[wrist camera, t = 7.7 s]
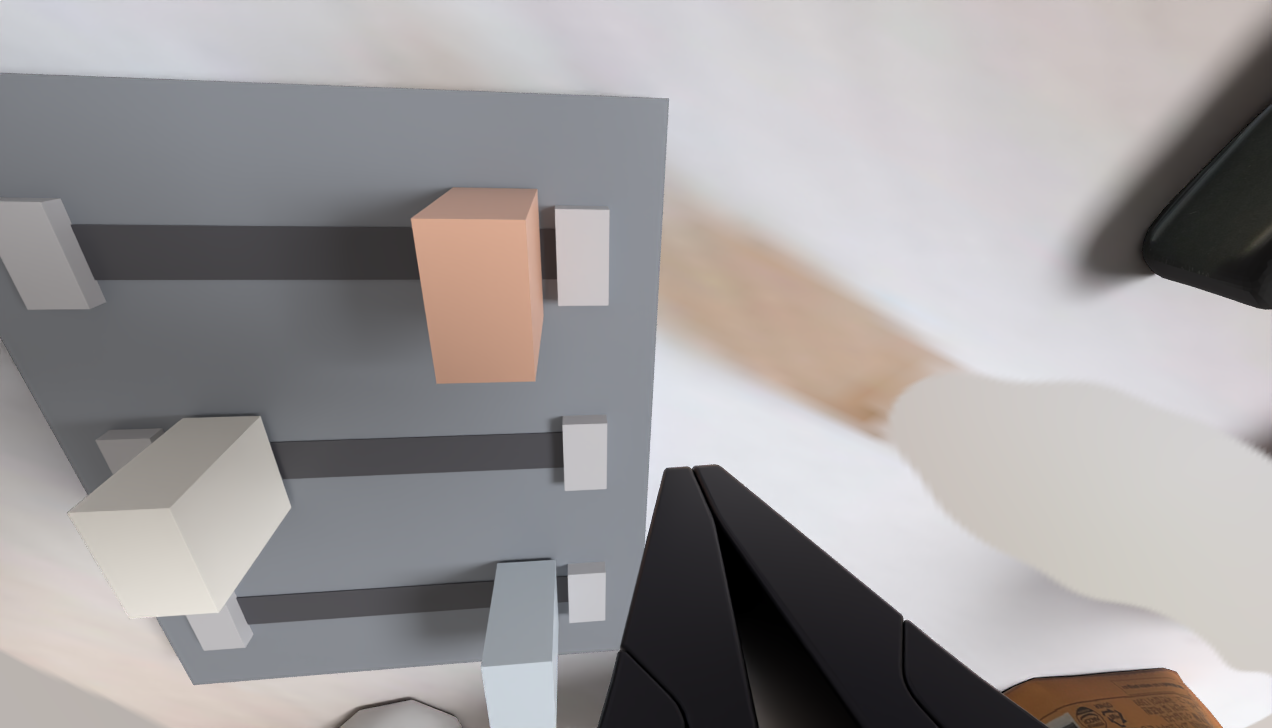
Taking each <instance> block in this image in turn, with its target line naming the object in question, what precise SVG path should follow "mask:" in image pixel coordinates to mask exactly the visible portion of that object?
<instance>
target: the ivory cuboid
mask: <svg viewBox="0 0 1272 728" xmlns="http://www.w3.org/2000/svg"><path fill="white" fill-rule="evenodd" d="M290 509H291V505H290V502H289V499H288V496H287V493H286V490H285V487H284V484H283V481H282V478H281V475H280V472H279V469H278V466H277V463H276V460H275V458H274V455H273V452H272V449H271V446H270V443H269V440H268V437H267V434H266V431H265V428H264V425H263V422H262V419H261V416H237V417H202V418H182V419H181V420H180V421H179V422H177V423H176V424H175V425H174V426H172V427H171V428H170V429H169V430H167V431H166V432H165V433H164V434H163V435H161V436H160V437H159V438H158V439H156V440H155V441H154V442H153V443H152V444H150V445H149V446H148V447H147V448H145V449H144V450H143V451H142V452H141V453H139V454H138V455H137V456H136V457H134V458H133V459H132V460H131V461H130V462H128V463H127V464H126V465H125V466H123V467H122V468H121V469H120V470H119V471H117V472H116V473H115V474H114V475H112V476H111V477H110V478H109V479H108V480H106V481H105V482H104V483H103V484H101V485H100V486H99V487H98V488H97V489H95V490H94V491H93V492H92V493H90V494H89V495H88V496H87V497H86V498H84V499H83V500H82V501H81V502H79V503H78V504H77V505H76V506H75V507H73V508H72V509H71V510H70V511H68V512H67V514H68V516H69V518H70V519H71V521H72V523H73V524H74V526H75V528H76V530H77V531H78V533H79V535H80V536H81V538H82V540H83V541H84V543H85V545H86V547H87V548H88V550H89V552H90V553H91V555H92V557H93V558H94V560H95V562H96V563H97V565H98V567H99V569H100V570H101V572H102V574H103V575H104V577H105V579H106V580H107V582H108V584H109V585H110V587H111V589H112V591H113V592H114V594H115V596H116V597H117V599H118V601H119V602H120V604H121V606H122V608H123V609H124V611H125V613H126V614H127V616H128V618H129V619H134V618H148V617H163V616H178V615H192V614H207V613H219V612H220V610H221V609H222V608H223V606H224V605H225V603H226V602H227V600H228V599H229V597H230V596H231V594H232V593H233V592H234V590H235V589H236V587H237V586H238V584H239V583H240V581H241V580H242V578H243V577H244V576H245V574H246V573H247V571H248V570H249V568H250V567H251V565H252V564H253V562H254V561H255V560H256V558H257V557H258V555H259V554H260V552H261V551H262V549H263V548H264V546H265V545H266V544H267V542H268V541H269V539H270V538H271V536H272V535H273V533H274V532H275V530H276V529H277V528H278V526H279V525H280V523H281V522H282V520H283V519H284V517H285V516H286V514H287V513H288V512H289V510H290Z"/></svg>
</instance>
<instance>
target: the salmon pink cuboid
mask: <svg viewBox="0 0 1272 728" xmlns="http://www.w3.org/2000/svg"><path fill="white" fill-rule="evenodd" d="M411 223H412V230H413V236H414V242H415V249H416V255H417V262H418V268H419V274H420V281H421V287H422V294H423V300H424V306H425V313H426V319H427V326H428V332H429V338H430V345H431V351H432V358H433V364H434V371H435V377H436V383H437V384H447V383H490V382H533V381H535V380H536V372H537V365H538V357H539V349H540V341H541V333H542V325H543V317H544V313H543V293H542V272H541V252H540V231H539V211H538V190H537V189H515V188H460V187H453V188H452V189H450V190H449V191H448V192H446V193H445V194H443V195H442V196H441V197H439V198H438V199H437V200H435V201H434V202H433V203H431V204H430V205H429V206H427V207H426V208H424V209H423V210H422V211H420V212H419V213H418V214H416V215H415V216H414V217H412V218H411Z"/></svg>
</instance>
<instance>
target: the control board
mask: <svg viewBox="0 0 1272 728" xmlns="http://www.w3.org/2000/svg"><path fill="white" fill-rule="evenodd" d="M668 106H669V99H668V98H642V97H616V96H590V95H564V94H538V93H512V92H486V91H460V90H434V89H408V88H382V87H356V86H330V85H304V84H278V83H252V82H226V81H200V80H174V79H148V78H121V77H95V76H69V75H43V74H17V73H0V338H1V339H2V341H3V343H4V345H5V347H6V348H7V350H8V352H9V354H10V356H11V357H12V359H13V361H14V363H15V365H16V366H17V368H18V370H19V372H20V374H21V375H22V377H23V379H24V381H25V383H26V384H27V386H28V388H29V390H30V392H31V393H32V395H33V397H34V399H35V401H36V402H37V404H38V406H39V408H40V410H41V411H42V413H43V415H44V417H45V419H46V420H47V422H48V424H49V426H50V428H51V429H52V431H53V433H54V435H55V437H56V438H57V440H58V442H59V444H60V446H61V447H62V449H63V451H64V453H65V455H66V456H67V458H68V460H69V462H70V464H71V465H72V467H73V469H74V471H75V473H76V474H77V476H78V478H79V480H80V482H81V483H82V485H83V487H84V489H85V491H86V492H87V494H88V495H89V494H90V493H92V492H93V491H94V490H95V489H97V488H98V487H99V486H100V485H101V484H103V483H104V482H105V481H106V480H108V479H109V478H110V477H111V476H112V475H114V474H115V473H116V472H117V471H119V470H120V469H121V468H122V467H123V466H125V465H126V464H127V463H128V462H130V461H131V460H132V459H133V458H134V457H136V456H137V455H138V454H139V453H141V452H142V451H143V450H144V449H145V448H147V447H148V446H149V445H150V444H152V443H153V442H154V441H155V440H156V439H158V438H159V437H160V436H161V435H163V434H164V433H165V432H166V431H167V430H169V429H170V428H171V427H172V426H174V425H175V424H176V423H177V422H179V421H180V420H181V419H182V418H202V417H237V416H261V419H262V422H263V425H264V428H265V431H266V434H267V437H268V440H269V443H270V446H271V449H272V452H273V455H274V458H275V460H276V463H277V466H278V469H279V472H280V475H281V478H282V481H283V484H284V487H285V490H286V493H287V496H288V499H289V502H290V505H291V509H290V510H289V512H288V513H287V514H286V516H285V517H284V519H283V520H282V522H281V523H280V525H279V526H278V528H277V529H276V530H275V532H274V533H273V535H272V536H271V538H270V539H269V541H268V542H267V544H266V545H265V546H264V548H263V549H262V551H261V552H260V554H259V555H258V557H257V558H256V560H255V561H254V562H253V564H252V565H251V567H250V568H249V570H248V571H247V573H246V574H245V576H244V577H243V578H242V580H241V581H240V583H239V584H238V586H237V587H236V589H235V590H234V592H233V593H232V594H231V596H230V597H229V599H228V600H227V602H226V603H225V605H224V606H223V608H222V609H221V610H220V612H219V613H207V614H192V615H178V616H163V617H156V618H157V620H158V622H159V624H160V626H161V627H162V629H163V631H164V633H165V635H166V636H167V638H168V640H169V642H170V644H171V645H172V647H173V649H174V651H175V653H176V654H177V656H178V658H179V660H180V662H181V663H182V665H183V667H184V669H185V671H186V672H187V674H188V676H189V678H190V680H191V681H192V683H193V685H200V684H212V683H224V682H236V681H248V680H260V679H273V678H285V677H297V676H309V675H321V674H333V673H345V672H358V671H370V670H382V669H394V668H406V667H418V666H430V665H443V664H455V663H467V662H479V661H482V657H483V650H484V644H485V638H486V632H487V625H488V619H489V613H490V606H491V600H492V594H493V587H494V581H495V575H496V569H497V563H511V562H528V561H544V560H556V580H557V600H558V621H559V629H558V655H564V654H576V653H588V652H601V651H613V650H620V644H621V640H622V636H623V632H624V628H625V624H626V620H627V616H628V612H629V608H630V604H631V600H632V596H633V592H634V588H635V584H636V580H637V576H638V572H639V568H640V564H641V560H642V556H643V552H644V545H645V527H646V508H647V490H648V472H649V454H650V435H651V417H652V399H653V380H654V362H655V344H656V326H657V307H658V289H659V271H660V253H661V234H662V216H663V198H664V179H665V161H666V143H667V125H668ZM453 187H460V188H515V189H537V190H538V211H539V231H540V252H541V272H542V293H543V313H544V317H543V325H542V333H541V341H540V349H539V357H538V365H537V372H536V380H535V381H533V382H490V383H447V384H437V383H436V377H435V371H434V364H433V358H432V351H431V345H430V338H429V332H428V326H427V319H426V313H425V306H424V300H423V294H422V287H421V281H420V274H419V268H418V262H417V255H416V249H415V242H414V236H413V230H412V223H411V218H412V217H414V216H415V215H416V214H418V213H419V212H420V211H422V210H423V209H424V208H426V207H427V206H429V205H430V204H431V203H433V202H434V201H435V200H437V199H438V198H439V197H441V196H442V195H443V194H445V193H446V192H448V191H449V190H450V189H452V188H453Z"/></svg>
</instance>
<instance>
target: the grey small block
mask: <svg viewBox="0 0 1272 728" xmlns="http://www.w3.org/2000/svg"><path fill="white" fill-rule="evenodd" d="M558 629H559V621H558V600H557V580H556V560H544V561H528V562H511V563H497V569H496V575H495V581H494V587H493V594H492V600H491V606H490V613H489V619H488V625H487V632H486V638H485V644H484V650H483V657H482V663H481V671H482V678H483V684H484V691H485V697H486V704H487V710H488V716H489V723H490V728H556V714H557V672H558Z"/></svg>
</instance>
